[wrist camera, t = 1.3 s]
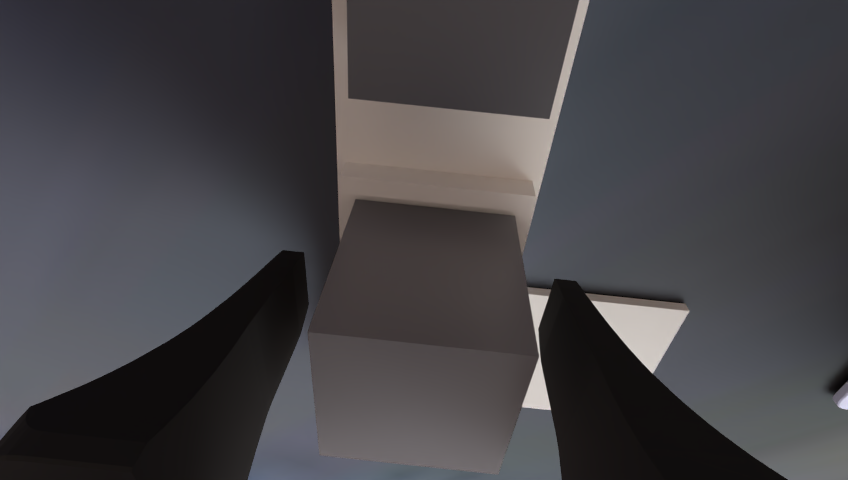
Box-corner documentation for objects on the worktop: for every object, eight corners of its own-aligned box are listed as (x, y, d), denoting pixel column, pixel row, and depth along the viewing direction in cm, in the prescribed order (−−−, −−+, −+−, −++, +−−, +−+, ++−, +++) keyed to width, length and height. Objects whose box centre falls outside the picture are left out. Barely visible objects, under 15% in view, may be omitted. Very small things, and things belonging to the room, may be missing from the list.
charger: (515, 215, 13) (539, 356, 9) (488, 328, 16) (497, 476, 12) (355, 199, 13) (307, 331, 9) (356, 314, 16) (319, 456, 12)
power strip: (624, -257, 9) (774, -406, 5) (476, 374, 21) (480, 501, 17) (351, -283, 9) (249, -458, 5) (356, 361, 21) (327, 484, 17)
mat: (685, 303, 18) (689, 311, 17) (624, 410, 22) (626, 418, 22) (503, 284, 18) (504, 291, 18) (476, 394, 22) (477, 402, 22)
